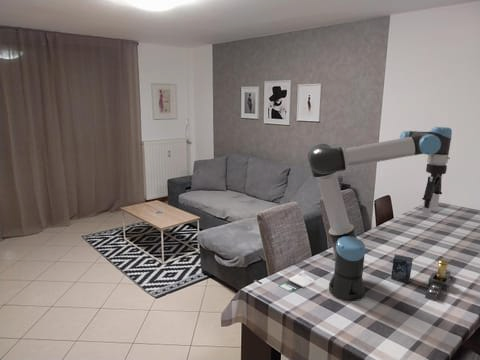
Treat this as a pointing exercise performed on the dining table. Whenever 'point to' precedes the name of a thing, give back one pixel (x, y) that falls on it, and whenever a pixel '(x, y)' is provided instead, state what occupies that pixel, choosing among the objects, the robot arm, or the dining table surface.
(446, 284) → the studded dark bracket
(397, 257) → the box
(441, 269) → the pin
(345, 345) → the dining table surface
